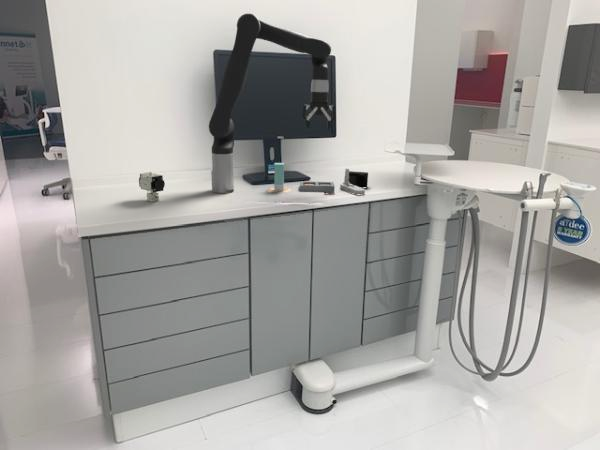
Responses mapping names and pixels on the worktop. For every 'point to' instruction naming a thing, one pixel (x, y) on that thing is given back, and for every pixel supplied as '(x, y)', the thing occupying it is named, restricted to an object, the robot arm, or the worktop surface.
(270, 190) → the deck
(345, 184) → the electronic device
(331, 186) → the port block
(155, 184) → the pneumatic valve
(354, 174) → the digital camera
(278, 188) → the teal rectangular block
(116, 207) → the worktop surface
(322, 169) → the worktop surface
